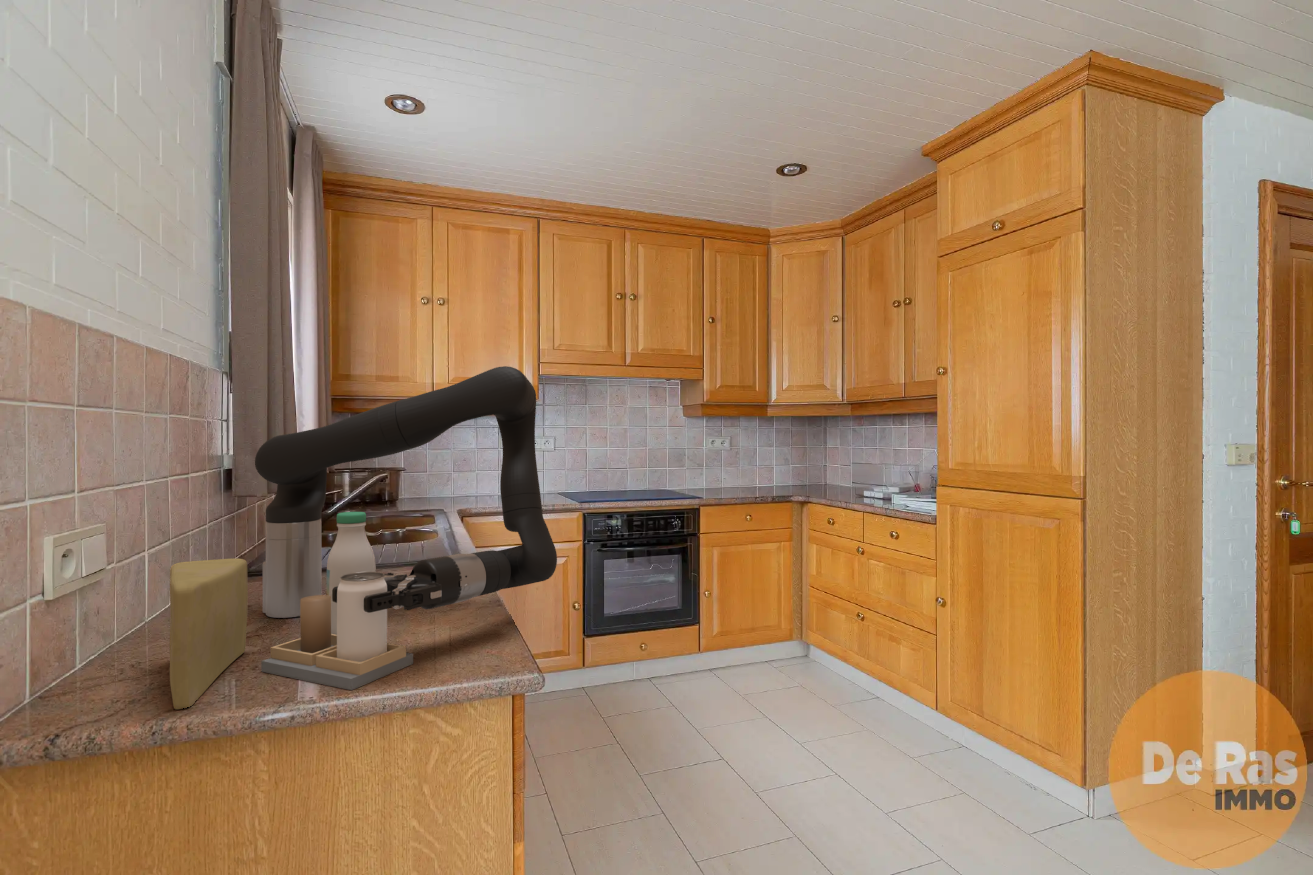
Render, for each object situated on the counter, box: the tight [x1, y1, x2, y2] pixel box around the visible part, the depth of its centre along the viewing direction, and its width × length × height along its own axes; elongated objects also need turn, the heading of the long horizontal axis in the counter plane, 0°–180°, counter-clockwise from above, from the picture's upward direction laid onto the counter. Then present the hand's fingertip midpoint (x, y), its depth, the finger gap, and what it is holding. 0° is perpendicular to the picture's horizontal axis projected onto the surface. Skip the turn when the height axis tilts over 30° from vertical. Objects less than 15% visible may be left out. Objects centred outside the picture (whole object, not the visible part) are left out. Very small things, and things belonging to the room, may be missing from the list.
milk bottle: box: [325, 511, 377, 635], centre depth 115 cm, size 8×8×20 cm
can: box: [337, 571, 388, 662], centre depth 94 cm, size 6×6×12 cm
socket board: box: [260, 594, 414, 691], centre depth 96 cm, size 17×11×10 cm, turn 67°
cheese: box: [169, 557, 249, 710], centre depth 91 cm, size 22×10×15 cm, turn 26°
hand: (348, 599), depth 93 cm, fingers open, 8 cm apart
